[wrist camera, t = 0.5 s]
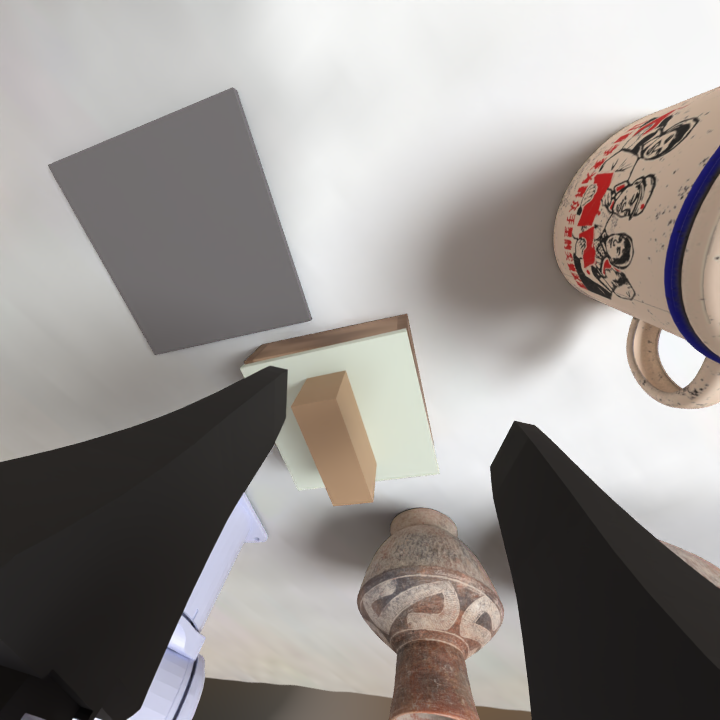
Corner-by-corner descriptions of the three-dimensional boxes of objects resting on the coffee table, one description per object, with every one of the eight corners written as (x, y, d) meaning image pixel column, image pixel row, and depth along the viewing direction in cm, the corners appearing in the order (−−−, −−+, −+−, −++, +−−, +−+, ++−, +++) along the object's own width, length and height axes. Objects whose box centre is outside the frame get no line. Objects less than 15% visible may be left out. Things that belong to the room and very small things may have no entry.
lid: (303, 477, 23) (284, 528, 19) (248, 360, 19) (212, 394, 16) (437, 460, 21) (445, 514, 17) (406, 324, 17) (407, 354, 13)
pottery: (362, 480, 26) (333, 672, 15) (710, 495, 22) (1004, 763, 11) (370, 565, 30) (352, 759, 19) (657, 589, 27) (829, 842, 16)
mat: (158, 352, 22) (154, 354, 22) (55, 166, 18) (47, 165, 17) (311, 318, 20) (310, 320, 20) (236, 90, 15) (232, 87, 15)
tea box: (309, 452, 25) (298, 483, 23) (264, 341, 22) (243, 361, 19) (432, 437, 23) (437, 469, 20) (407, 311, 19) (407, 328, 17)
